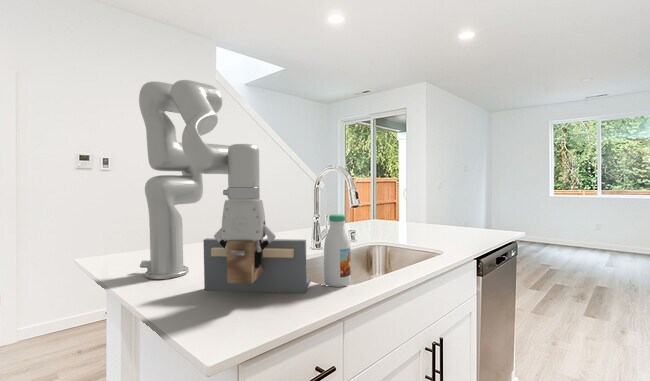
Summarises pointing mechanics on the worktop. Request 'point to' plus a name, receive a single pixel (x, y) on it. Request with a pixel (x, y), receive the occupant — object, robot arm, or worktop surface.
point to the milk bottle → (337, 253)
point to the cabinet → (242, 262)
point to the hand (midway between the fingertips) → (245, 265)
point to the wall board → (278, 260)
